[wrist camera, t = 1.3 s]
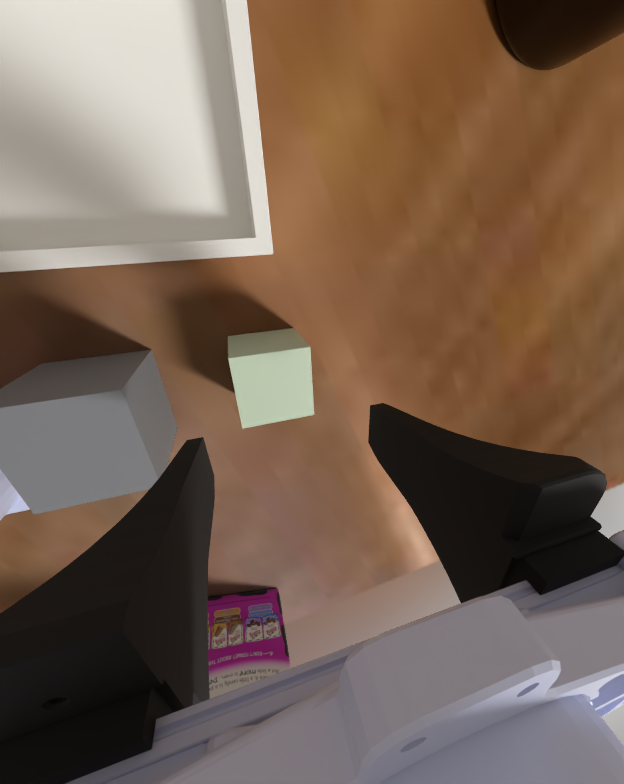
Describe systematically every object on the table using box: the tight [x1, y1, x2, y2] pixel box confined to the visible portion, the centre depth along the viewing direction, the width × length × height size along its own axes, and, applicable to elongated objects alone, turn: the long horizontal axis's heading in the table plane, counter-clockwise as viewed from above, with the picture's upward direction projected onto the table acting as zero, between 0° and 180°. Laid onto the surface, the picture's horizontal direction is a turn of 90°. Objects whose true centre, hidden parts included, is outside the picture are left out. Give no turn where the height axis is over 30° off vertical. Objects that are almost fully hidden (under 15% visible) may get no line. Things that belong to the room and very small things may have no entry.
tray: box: [0, 0, 273, 272], centre depth 12 cm, size 14×12×2 cm
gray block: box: [0, 350, 177, 514], centre depth 16 cm, size 6×6×6 cm
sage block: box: [228, 328, 314, 428], centre depth 18 cm, size 4×4×4 cm
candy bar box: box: [208, 589, 291, 699], centre depth 25 cm, size 11×5×16 cm, turn 75°
